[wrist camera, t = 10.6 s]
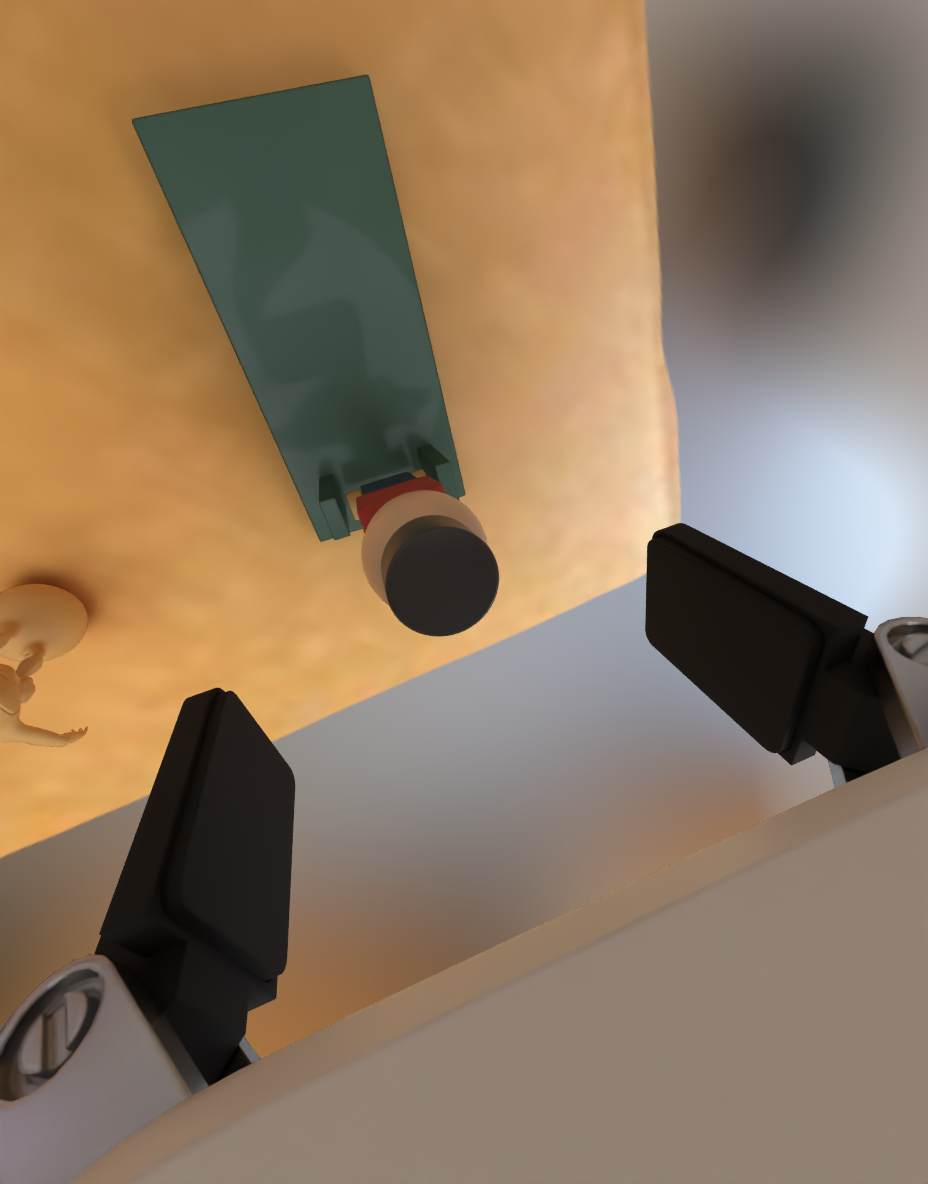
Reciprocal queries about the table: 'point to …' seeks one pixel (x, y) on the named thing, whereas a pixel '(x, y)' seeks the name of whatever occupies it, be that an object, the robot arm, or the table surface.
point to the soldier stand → (311, 283)
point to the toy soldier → (425, 553)
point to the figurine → (34, 652)
